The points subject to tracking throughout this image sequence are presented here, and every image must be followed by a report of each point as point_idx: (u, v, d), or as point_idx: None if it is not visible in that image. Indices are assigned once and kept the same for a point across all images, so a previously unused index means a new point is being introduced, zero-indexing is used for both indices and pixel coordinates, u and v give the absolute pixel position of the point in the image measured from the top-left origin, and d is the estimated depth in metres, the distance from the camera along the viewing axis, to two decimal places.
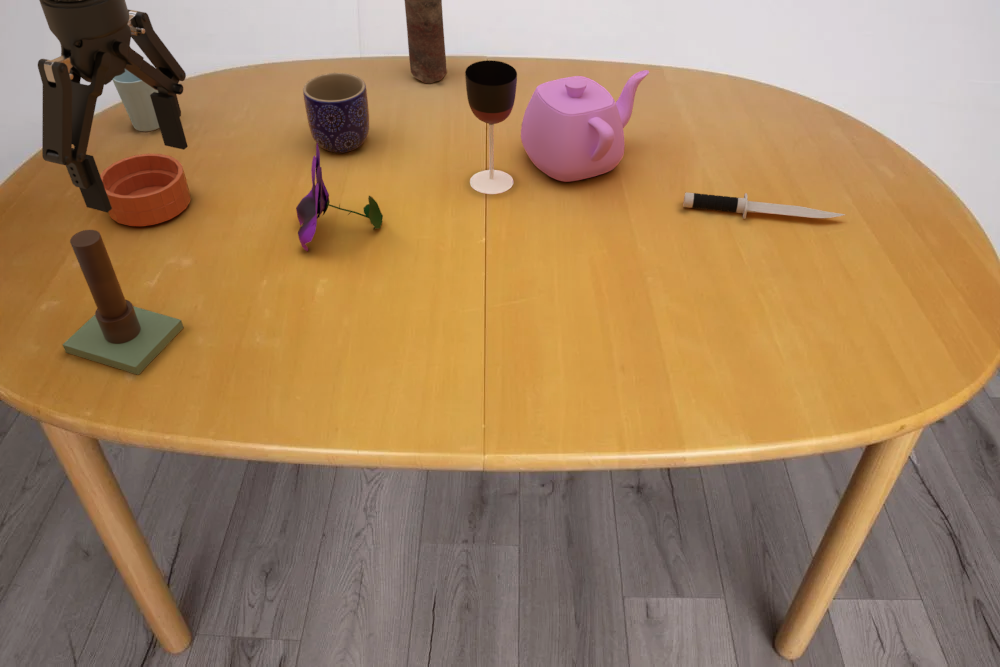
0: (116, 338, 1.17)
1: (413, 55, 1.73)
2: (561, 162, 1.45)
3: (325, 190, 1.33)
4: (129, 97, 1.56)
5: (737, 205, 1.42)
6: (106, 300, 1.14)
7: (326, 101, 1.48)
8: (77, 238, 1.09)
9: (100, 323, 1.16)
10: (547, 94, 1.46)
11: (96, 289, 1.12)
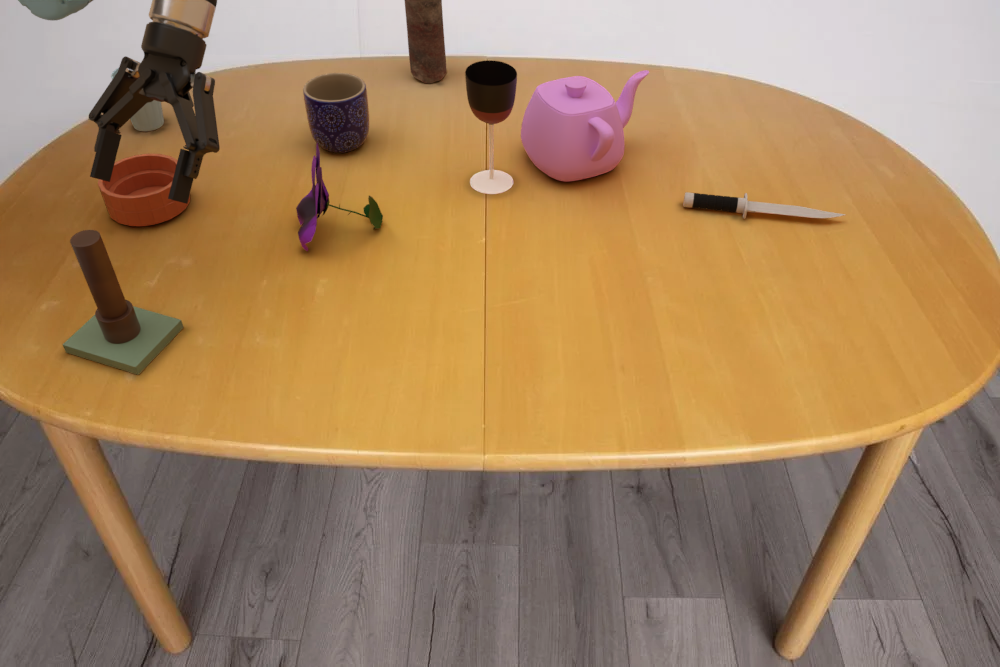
0: (116, 338, 1.17)
1: (413, 55, 1.73)
2: (561, 162, 1.45)
3: (325, 190, 1.33)
4: None
5: (737, 205, 1.42)
6: (106, 300, 1.14)
7: (326, 101, 1.48)
8: (77, 238, 1.09)
9: (100, 323, 1.16)
10: (547, 94, 1.46)
11: (96, 289, 1.12)
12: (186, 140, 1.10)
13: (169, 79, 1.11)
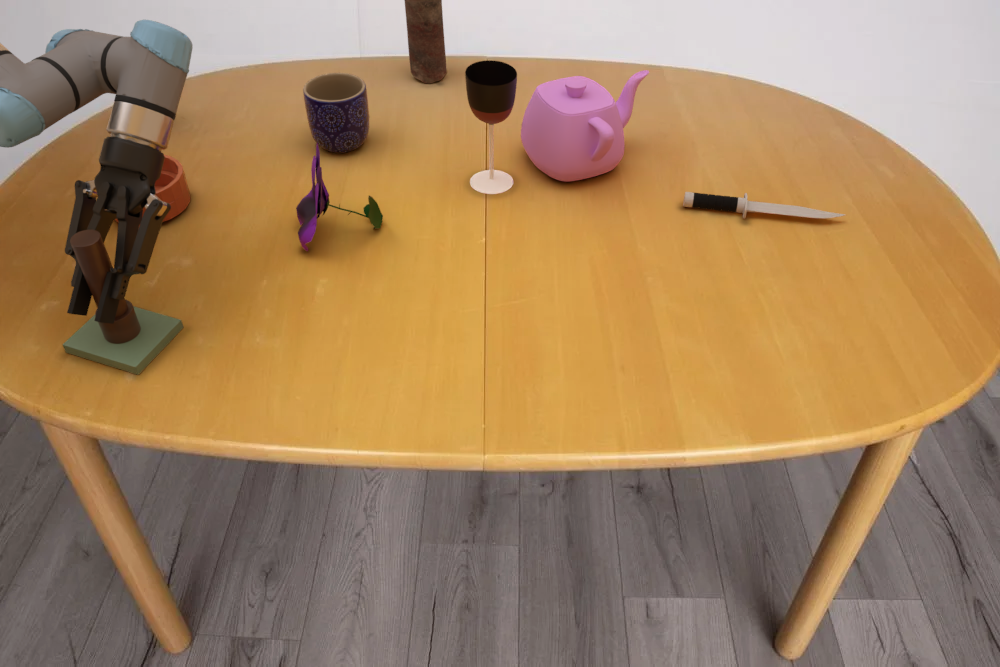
0: (116, 338, 1.17)
1: (413, 55, 1.73)
2: (561, 162, 1.45)
3: (325, 190, 1.33)
4: None
5: (737, 205, 1.42)
6: None
7: (326, 101, 1.48)
8: (77, 238, 1.09)
9: (100, 323, 1.16)
10: (547, 94, 1.46)
11: (96, 289, 1.12)
12: (116, 261, 1.11)
13: (126, 196, 1.11)
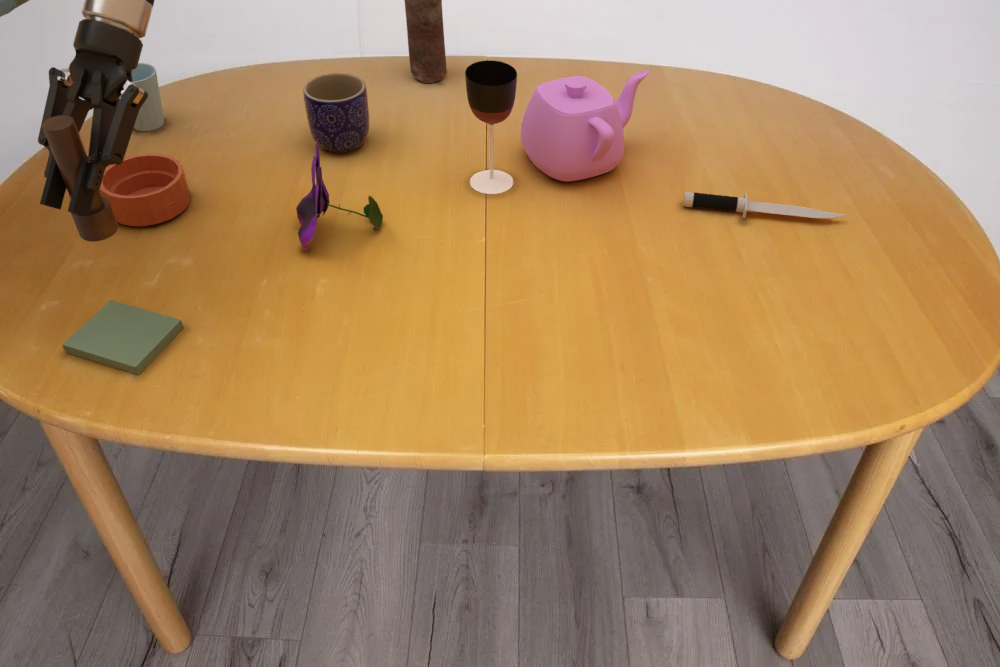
0: (92, 235, 1.13)
1: (413, 55, 1.73)
2: (561, 162, 1.45)
3: (325, 190, 1.33)
4: None
5: (737, 205, 1.42)
6: None
7: (326, 101, 1.48)
8: (49, 123, 1.05)
9: (75, 218, 1.12)
10: (547, 94, 1.46)
11: (70, 179, 1.08)
12: (90, 149, 1.07)
13: (101, 82, 1.07)
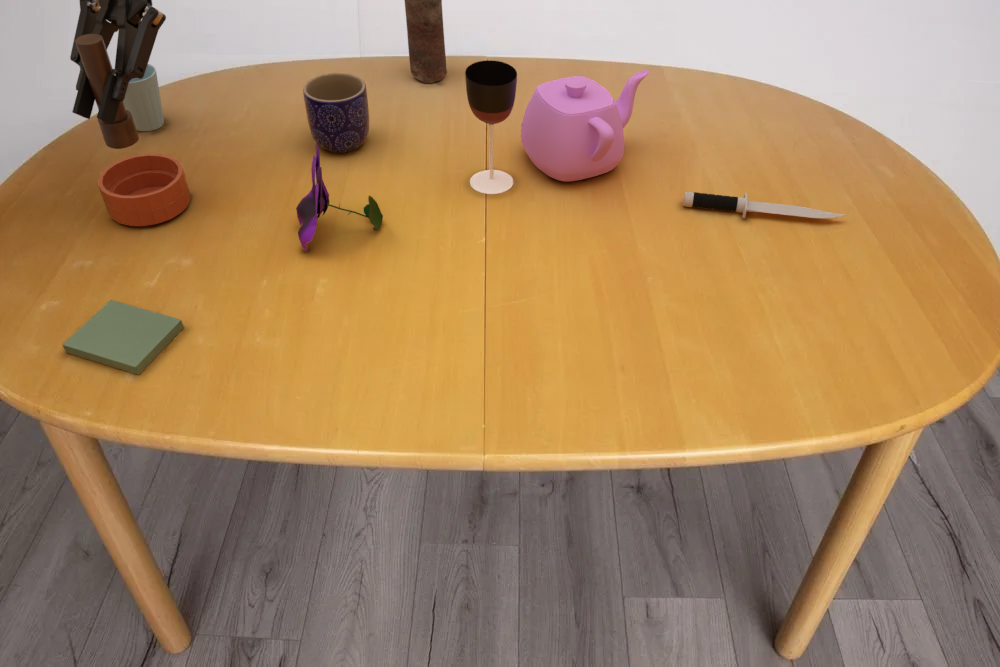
0: (116, 143, 1.30)
1: (413, 55, 1.73)
2: (561, 162, 1.45)
3: (325, 190, 1.33)
4: (129, 97, 1.56)
5: (737, 204, 1.42)
6: None
7: (326, 101, 1.48)
8: (81, 39, 1.21)
9: (102, 127, 1.29)
10: (547, 94, 1.46)
11: (99, 90, 1.25)
12: (116, 64, 1.24)
13: (126, 5, 1.24)
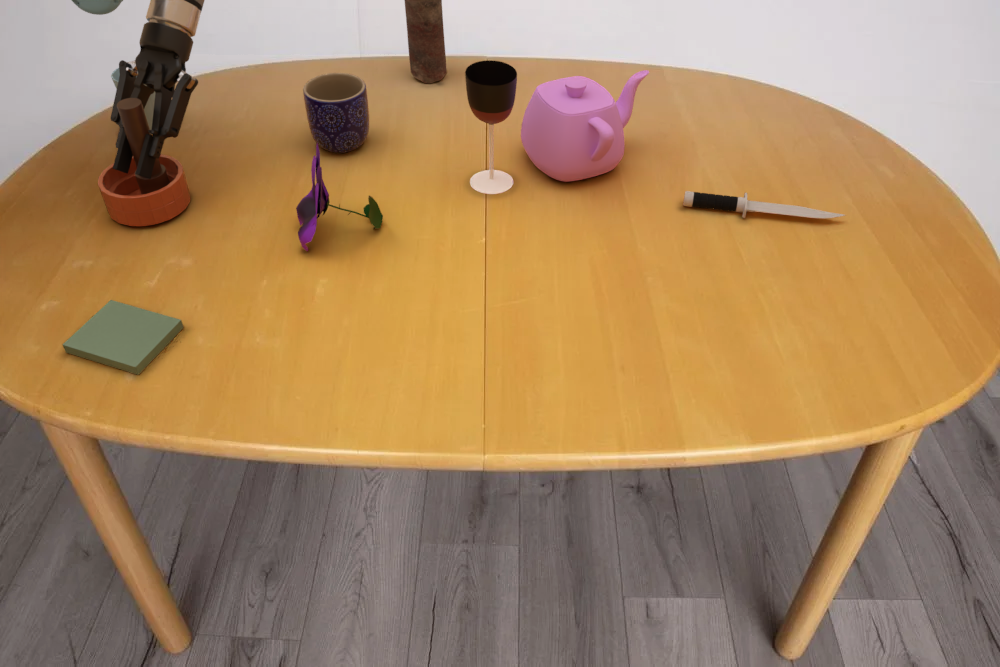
0: None
1: (413, 55, 1.73)
2: (561, 162, 1.45)
3: (325, 190, 1.33)
4: None
5: (737, 204, 1.42)
6: None
7: (326, 101, 1.48)
8: (122, 103, 1.33)
9: (139, 180, 1.40)
10: (547, 94, 1.46)
11: (137, 148, 1.37)
12: (153, 125, 1.36)
13: (162, 71, 1.35)
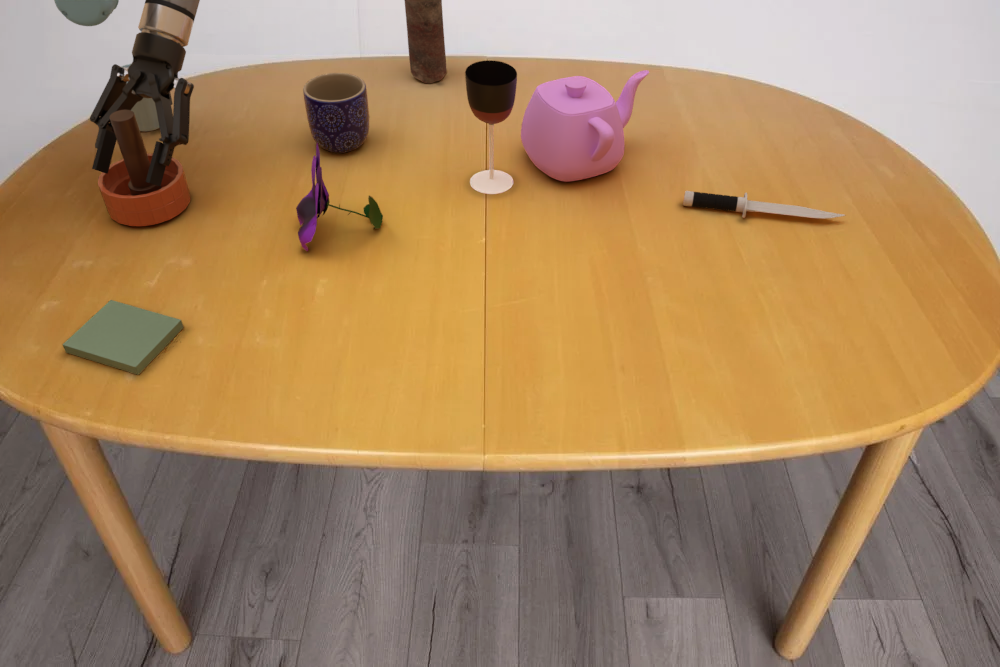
0: None
1: (413, 55, 1.73)
2: (561, 162, 1.45)
3: (325, 190, 1.33)
4: None
5: (737, 204, 1.42)
6: (137, 171, 1.38)
7: (326, 101, 1.48)
8: (115, 115, 1.33)
9: (132, 192, 1.40)
10: (547, 94, 1.46)
11: (130, 160, 1.36)
12: (162, 133, 1.35)
13: (156, 80, 1.35)
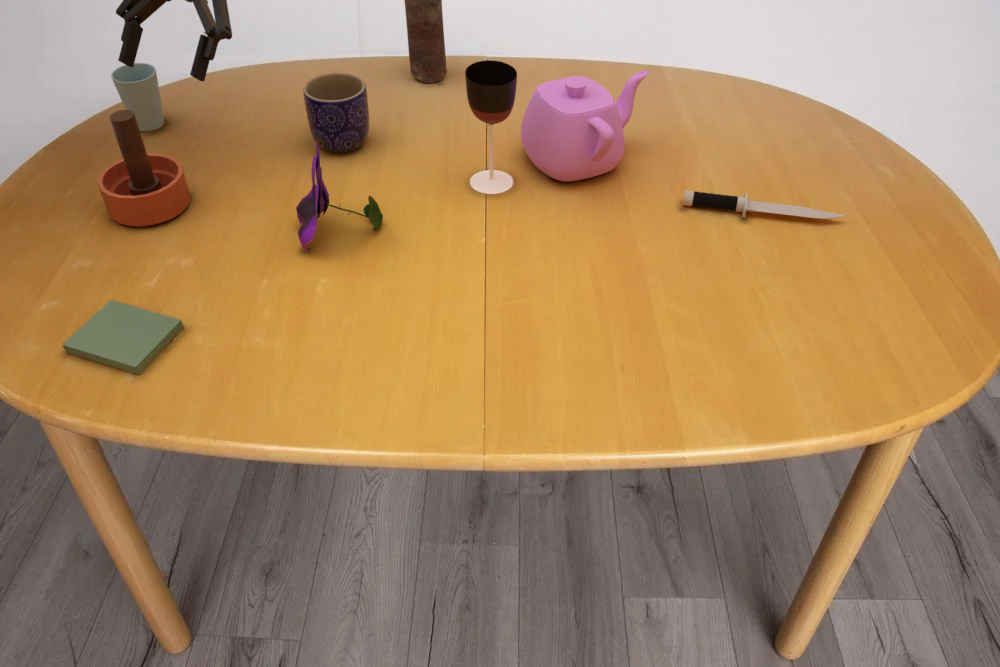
0: None
1: (413, 55, 1.73)
2: (561, 162, 1.45)
3: (325, 190, 1.33)
4: (129, 97, 1.56)
5: (737, 204, 1.42)
6: (137, 171, 1.38)
7: (326, 101, 1.48)
8: (115, 115, 1.33)
9: (132, 192, 1.40)
10: (547, 94, 1.46)
11: (130, 160, 1.36)
12: (205, 27, 1.36)
13: None
